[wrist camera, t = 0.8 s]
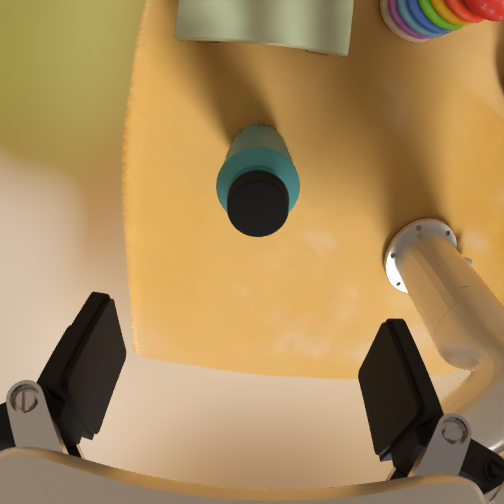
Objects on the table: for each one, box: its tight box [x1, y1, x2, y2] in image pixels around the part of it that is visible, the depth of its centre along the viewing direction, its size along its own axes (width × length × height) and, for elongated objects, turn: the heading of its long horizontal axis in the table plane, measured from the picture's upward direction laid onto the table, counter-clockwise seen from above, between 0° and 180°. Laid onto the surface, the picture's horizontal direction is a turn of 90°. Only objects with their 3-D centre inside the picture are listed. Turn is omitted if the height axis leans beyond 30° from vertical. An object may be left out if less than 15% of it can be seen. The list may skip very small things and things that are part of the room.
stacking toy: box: [380, 0, 504, 43], centre depth 18 cm, size 8×8×19 cm
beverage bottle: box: [216, 124, 300, 237], centre depth 28 cm, size 6×7×20 cm
